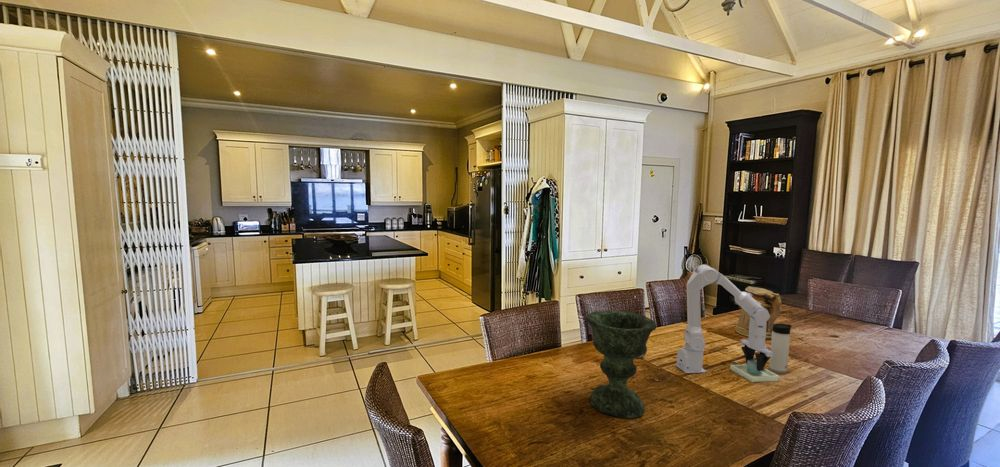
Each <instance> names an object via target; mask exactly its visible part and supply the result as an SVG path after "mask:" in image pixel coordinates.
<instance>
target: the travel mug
mask: <svg viewBox="0 0 1000 467" xmlns="http://www.w3.org/2000/svg"><path fill="white" fill-rule="evenodd" d="M791 329H792V325H791V324H788V323H774V324H773V329H772V339H770V340H771V341H770V351H771V352H773V356H772V357H771V358H770V359H769V366H768V368H769V369H768V370H769V371H771V372H773V373H775V374H776V373H777V374H782V375H783V374H784V375H785V374H787V373H788V366H789V355H790V353H789V352H790V343H791Z"/></svg>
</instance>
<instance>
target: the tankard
mask: <svg viewBox="0 0 1000 467" xmlns="http://www.w3.org/2000/svg"><path fill="white" fill-rule="evenodd" d="M744 292H747V293H750V294H751V295H752V298H754V299H755V300H756V301H757V302H760V303H761V306H762V307H763V308H765V309H767V310H768V313H769V315H770V318H769V320H767V322H766V336H765V341H766V340H771V339H772V329H773V324H775V322H776V320H777V319H778V317H779V316H780V314H781V312H782V299H781V298H782V296H781V295H780V294H779V293H774V292H773V291H772V290H769V289H766V288H762V287H756V286H747V287H745V289H744ZM750 317H751V316H750V315H749V314H748V312H746V311H745V310H744V309H743V308H742V307H741V310H740V313H739V317H738V321H737V322H736V325H735V328H734V331H735V332H736V333H737V334H740V335H741V336H744V337H748V338H749V325H750ZM752 318H753V317H752Z"/></svg>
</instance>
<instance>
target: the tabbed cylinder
mask: <svg viewBox="0 0 1000 467" xmlns="http://www.w3.org/2000/svg"><path fill="white" fill-rule="evenodd" d="M765 369H766V367H764V369H763V371H758V370H757V360H756V359H754V358H753V359H749V360H748V361H747V371H748V372H750V373H754V374H762V372H765Z"/></svg>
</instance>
